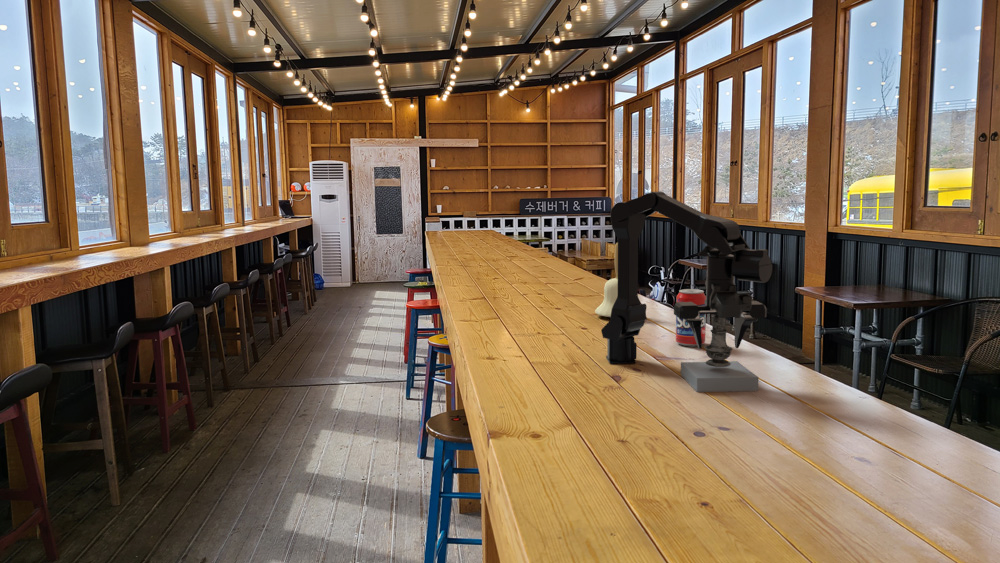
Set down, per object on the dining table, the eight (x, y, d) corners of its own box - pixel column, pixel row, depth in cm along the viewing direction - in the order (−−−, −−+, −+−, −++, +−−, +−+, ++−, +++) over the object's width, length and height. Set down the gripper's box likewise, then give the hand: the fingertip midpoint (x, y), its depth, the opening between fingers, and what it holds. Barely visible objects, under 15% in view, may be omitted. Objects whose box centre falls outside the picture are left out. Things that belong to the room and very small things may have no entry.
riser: (696, 391, 142) (697, 378, 142) (680, 374, 155) (680, 362, 155) (758, 390, 142) (758, 377, 142) (736, 373, 155) (737, 361, 155)
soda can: (702, 341, 188) (703, 288, 186) (707, 347, 180) (709, 292, 178) (673, 341, 189) (674, 288, 187) (678, 347, 181) (679, 292, 179)
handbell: (648, 315, 226) (648, 241, 223) (631, 323, 214) (632, 245, 210) (605, 311, 235) (605, 240, 231) (587, 319, 222) (587, 243, 218)
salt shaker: (737, 364, 148) (739, 310, 146) (720, 368, 144) (722, 314, 142) (715, 358, 152) (716, 306, 151) (698, 363, 149) (699, 310, 147)
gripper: (687, 284, 138) (685, 358, 140) (778, 282, 137) (775, 356, 140) (673, 276, 149) (672, 345, 151) (758, 275, 148) (755, 344, 151)
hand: (718, 348), depth 148 cm, fingers closed on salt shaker, 8 cm apart
